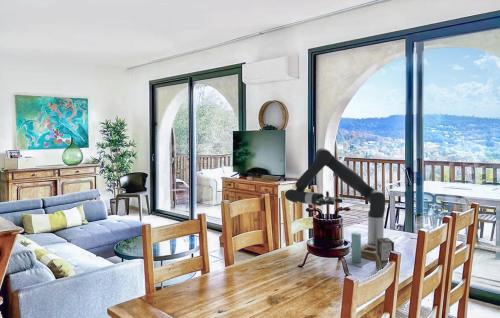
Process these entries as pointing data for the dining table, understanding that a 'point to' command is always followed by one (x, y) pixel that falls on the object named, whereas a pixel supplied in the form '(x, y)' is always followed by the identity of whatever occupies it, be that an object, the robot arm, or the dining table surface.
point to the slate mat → (357, 263)
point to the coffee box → (383, 252)
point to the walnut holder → (368, 253)
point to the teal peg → (356, 247)
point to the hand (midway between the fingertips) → (338, 202)
